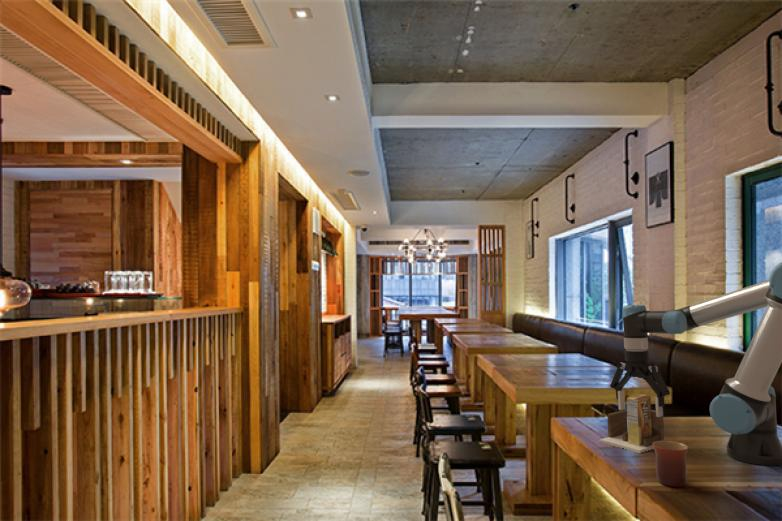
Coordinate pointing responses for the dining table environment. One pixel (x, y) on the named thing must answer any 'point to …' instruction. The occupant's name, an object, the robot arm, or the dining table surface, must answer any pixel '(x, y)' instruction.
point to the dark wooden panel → (617, 423)
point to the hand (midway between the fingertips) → (640, 412)
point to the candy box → (639, 418)
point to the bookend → (657, 430)
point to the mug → (671, 463)
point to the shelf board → (625, 444)
